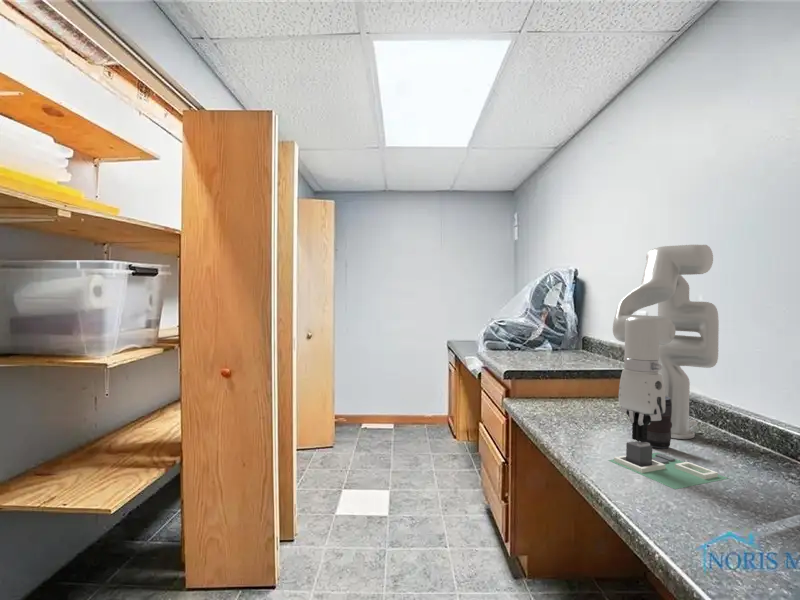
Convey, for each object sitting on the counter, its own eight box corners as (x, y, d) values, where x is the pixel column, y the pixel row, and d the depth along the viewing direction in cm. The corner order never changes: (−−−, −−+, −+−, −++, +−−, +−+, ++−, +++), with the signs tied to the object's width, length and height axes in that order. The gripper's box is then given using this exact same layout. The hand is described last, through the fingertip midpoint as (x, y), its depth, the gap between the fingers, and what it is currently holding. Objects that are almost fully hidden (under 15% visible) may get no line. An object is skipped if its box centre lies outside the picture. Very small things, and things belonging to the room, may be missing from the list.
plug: (637, 460, 111) (638, 438, 111) (651, 466, 107) (652, 443, 107) (626, 462, 110) (626, 440, 110) (639, 468, 106) (640, 445, 106)
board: (657, 456, 118) (657, 448, 118) (728, 483, 101) (729, 473, 101) (607, 464, 111) (607, 456, 111) (674, 494, 94) (675, 484, 94)
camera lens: (643, 442, 130) (644, 392, 130) (674, 449, 124) (675, 397, 124) (634, 448, 124) (635, 396, 124) (666, 456, 119) (667, 401, 119)
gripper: (680, 370, 103) (678, 447, 103) (626, 361, 117) (625, 430, 117) (657, 371, 100) (656, 451, 100) (605, 362, 114) (604, 432, 114)
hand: (639, 439), depth 108 cm, fingers closed
